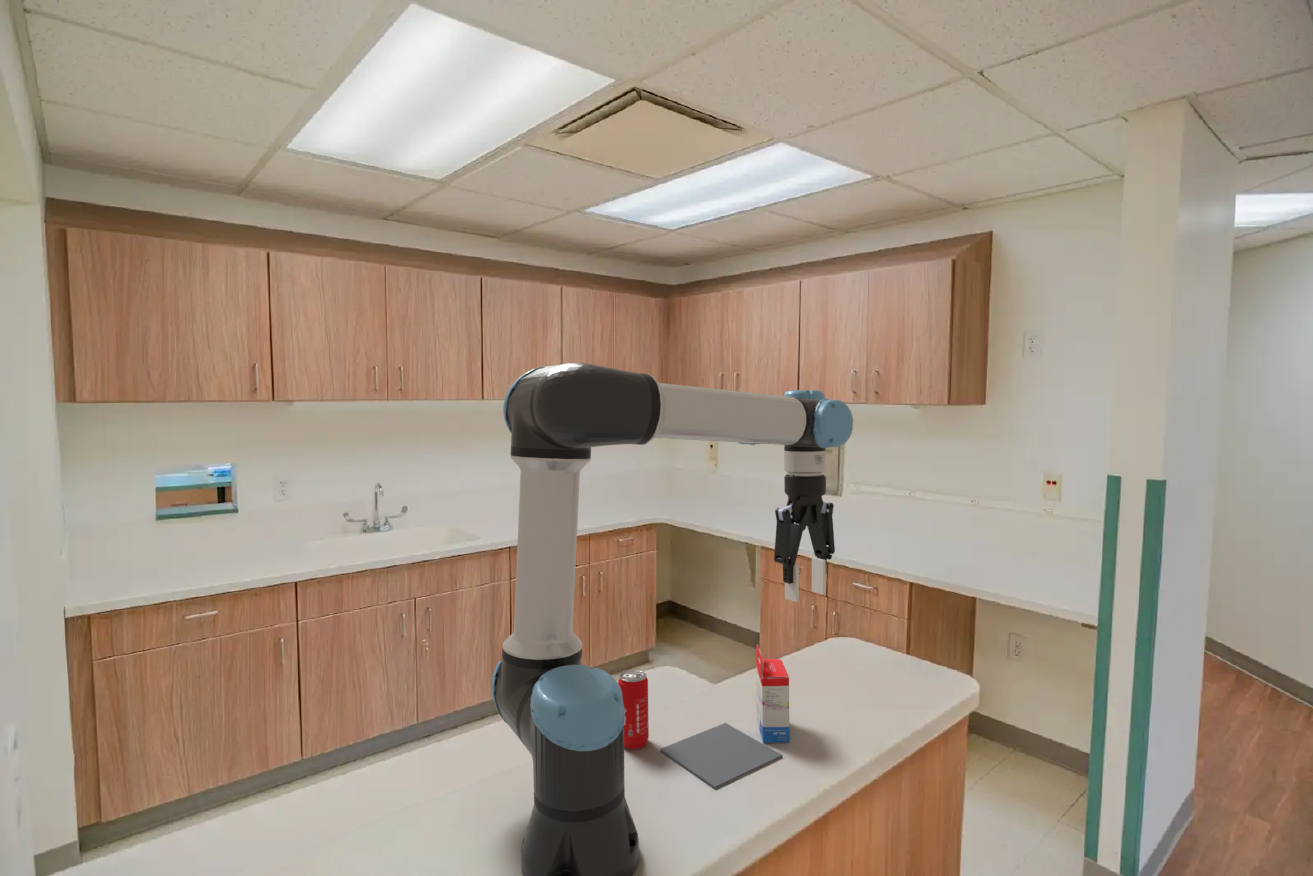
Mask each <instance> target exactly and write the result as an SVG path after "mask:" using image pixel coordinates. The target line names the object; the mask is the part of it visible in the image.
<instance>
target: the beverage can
mask: <svg viewBox="0 0 1313 876" xmlns="http://www.w3.org/2000/svg"><path fill="white" fill-rule="evenodd" d="M617 682H618V684H619V686H620V688H621V691H622V698H623V705H624V711H625V721H624V749H627V750H635V751H636V750H641V749H643V748H644V747H646V745H647V742H648V739H649V738H650V737H649V724H650V723H649V680H648V678H647V674H646V672H644V671H642V670H637V669H633V670H632V669H631V670H626V671H624V672H622V673H620V674H619V678H618V680H617Z"/></svg>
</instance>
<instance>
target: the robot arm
mask: <svg viewBox="0 0 1313 876" xmlns="http://www.w3.org/2000/svg"><path fill="white" fill-rule="evenodd" d="M502 410H503V411H502V412H503V419H504V421H505V425H506V426H507V429H508V431H509V432H510V433H511V434H510V435H511V436H510V438H511V439H510V440H511V441H510V459H511V460H512V461H513V462H514V463H515V464H516V465H517V466H518V468H519V469H520V474H519V475H520V477H519V478H520V479H519V497H518V498H519V499H518V500H519V503H518V526H517V545H516V547H517V550H516V569H515V570H516V571H515V572H516V573H515V590H514V591H515V592H514V594H515V595H514V615H513V616H514V619H513V632H512V633H511V634H510V635H508V637H507V638H506V639H505V640H503V643H502V650H501V660H499V661H498V662H497V664H496V665H495V667H494V670H493V673H492V678H491V694H492V695H491V696H492V699H493V702H494V705H495V709H496V710H497V713H498V714H499V716H500V718H501V719H502V720H503V722H505V724H507V726H508V727H509V728H510V729H511V731H513V732H514V735H516V737H517V738H518V740H520V742H521V743H522V745H524V747H525V748H526V750H527V751H528V752H529V754H530V755H531V758H532V764H533V765H532V766H533V767H532V769H533V771H532V772H533V773H532V775H533V776H532V777H533V807H532V811H531V813H530V816H529V821H528V823H527V827H526V831H525V835H524V838H523V840H522V844H521V851H520V852H521V854H520V858H521V860H520V861H521V863H520V864H521V873H522V876H633V874H634V873H635V871H636V870H637V868H638V865H639V859H640V840H639V833H638V830H637V827H636V825H635V824H636V823H635V822H634V819H633V815H632V813H631V811H630V807H629V804H628V802H627V799H626V795H625V789H626V788H625V748H624V721H625V711H624V705H623V698H622V691H621V688H620V686H619V684H618V680H617V679H615V678H614V677H613V676H612V675H611V674H610V673H609V672H607V671H605V670H603V669H601V668H598V667H593V668H590V666H589V665H585V664H582V663H583V641H582V640H581V639H580V637H578V635H577V634H575V632H574V612H575V611H574V610H575V609H574V606H575V584H576V568H577V567H576V566H577V563H576V562H577V561H576V560H577V546H578V545H577V544H578V543H577V539H578V518H579V517H578V516H579V497H580V495H579V493H580V476H581V474H580V473H581V471H582V469H583V468H584V467H585V466H586V465H587V464H588V463H589V462H591V459H592V457H591V456H592V454H591V453H592V448H596V447H605V446H606V447H607V446H618V445H619V446H620V445H639V446H643V445H647V444H649V443H650V442H652V441H653V440H654V439H666V440H667V439H668V440H682V441H683V440H686V441H687V440H688V441H689V440H690V441H704V442H705V441H706V442H707V441H708V442H721V443H724V442H725V443H727V442H728V443H737V444H741V445H750V446H755V445H777V446H779V445H780V446H783V447H784V448H783V449H784V451H783V452H784V453H783V454H784V455H783V456H784V457H783V460H784V461H783V462H784V463H783V466H784V467H783V470H784V472H786V473H787V474H785V476H784V478H783V479H784V482H783V483H784V494H785V495H786V496H787V503H786V506H784V507H782V508H780V507H776V509H775V511H774V512H775V513H774V514H775V519H776V526H775V527H776V528H775V540H774V542H775V543H774V555H773V561H774V562H775V563H778V564H781V565H782V581H783V583H784V599H785V600H787V601H791V602H795V603H797V602H798V603H799V601H800V597H799V596H800V595H799V594H800V592H799V590H800V589H799V588H800V583H799V581H800V577H799V575H800V574H799V572H800V571H799V565H797V564H796V562H797V558H798V554H799V549H800V544H801V541H802V537H803V532H804V531H805V530H806V528H807V531H808V533H809V537H810V541H811V545H812V548H813V549H812V550H813V553H814V556H815V557H811V593H816V594H819V595H826V594H827V593H826V591H827V588H826V587H827V586H826V585H827V584H826V583H827V581H826V579H827V577H826V576H827V571H828V570H827V568H828V567H827V566H828V563H827V561H828V560H831V559H832V558H833V555H834V554H835V552H836V547H835V545H836V544H835V534H834V521H833V520H834V519H833V515H834V505H835V504H834V503H833V502H827V501H824V500H823V498H822V497H823V496H825V495H826V493H827V479H826V478H827V476H825V475H826V474H825V475H824V474H823V473H825V472H826V471H827V470H826V469H827V467H826V464H827V463H826V449H828V448H839V447H841V446H843V445H845V444H846V443H847V442H848V441H849V439H850V438H851V436H852V433H853V429H854V428H853V427H854V417H853V413H852V410H851V409H850V407H849V406H848V405H847V404H846V403H845V402H844V401H842V400H838V399H829V398H826V396H825V393H824V392H823V391H822V390H819V389H817V390H816V389H811V390H810V389H808V390H807V389H805V390H804V389H802V390H801V389H800V390H799V389H796V390H787V391H785V393H784V395H775V394H765V393H755V392H747V391H739V390H738V391H737V390H736V391H735V390H727V389H717V388H709V387H700V386H699V387H698V386H691V385H682V384H681V385H680V384H672V383H665V382H664V383H662V382H658V380H657V379H656V377H655V376H654V375H652V374H649V373H641V372H634V371H629V370H628V371H627V370H623V369H617V368H611V367H606V366H601V365H596V364H593V363H592V364H591V363H585V362H568V363H563V364H556V365H547V366H540V367H535V368H533V369H531V370H529V371H527V372H525V373H524V374H522V375H520V376H519V377H518V378H517V379H516V380H515V381H514V382H513V383H512V384H511V385H510V387H509V388H508V390H507V391H506V395H505V397H504V401H503V409H502Z"/></svg>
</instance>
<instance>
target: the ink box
mask: <svg viewBox="0 0 1313 876" xmlns="http://www.w3.org/2000/svg"><path fill="white" fill-rule="evenodd" d="M755 650H756V651H755V653H756V654H755V658H756V659H755V664H756V667H755V668H756V670H755V673H756V675H755V676H756V679H755V681H756V683H755V684H756V688H755V689H756V723H757V727H758V729H759V733H760V736H761V740H762V744H775V743H776V744H783V743H785V744H788V743H790V742H791V736H790V734H791V733H790V732H791V731H790V729H791V728H790V726H791V725H790V722H791V721H790V676H789V674H788V672H787V670H786V668H785V665H784V663H783V660H782V659H779V658H778V659H777V658H764V657H763V655H762V651H761V648H760V647H759V644H756V649H755Z"/></svg>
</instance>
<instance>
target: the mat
mask: <svg viewBox="0 0 1313 876" xmlns="http://www.w3.org/2000/svg"><path fill="white" fill-rule="evenodd" d="M659 751H660V753H662V754H664V756H666V757H668V758H669V759H671V760H672V761H673V762H675V763H676V764H678V765H679V766H680V767H682V768H683V769H685V770H686V771H688V772H690V774H692V775H693V776H695V777H697V778H698V779H699V780H700V781H702V782H703V783H705V784H707V785H708V786H709V787H710V788H712V789H714V790H716V789H719V788H721V787H722V786H726V785H727V784H730V783H732V782H734V781H735V780H737V779H739V778H742V777H743V776H746V775H748V774H750V773H752V772H754V771H756V770H759V769H760V768H763V767H765V766H766V765H769V764H771V763H773V762H775V761H777V760H780V759H782V758H783V753H782V754H781V753H780V752H778V751H776V750H775V749H773V748H771V747H769V746H767V745H766V744H765V743H763V742H760V741H758V740H757V739H755V738H754V737H752V736H750V735H748V734H746V733H744V732H743V731H741V730H739V729H737V728H736V727H733V726H732V725H730V724H728V723H727V722H724V723H722V724H719V725H717V726H714V727H711V728H709V729H707V730H704V731H702V732H699V733H696V734H694V735H691V736H690V737H686V738H684V739H682V740H679V741H676V742H674V743H672V744H669V745H666V746H664V747H661V748H660V750H659Z"/></svg>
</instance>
